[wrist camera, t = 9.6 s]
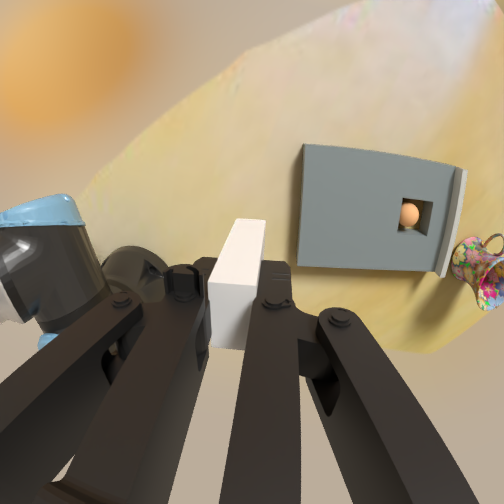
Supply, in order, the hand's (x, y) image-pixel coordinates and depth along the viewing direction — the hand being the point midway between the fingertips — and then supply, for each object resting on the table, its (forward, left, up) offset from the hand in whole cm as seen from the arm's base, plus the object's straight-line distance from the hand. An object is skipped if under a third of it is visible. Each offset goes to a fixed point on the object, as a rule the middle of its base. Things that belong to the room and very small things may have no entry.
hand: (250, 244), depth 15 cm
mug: (+37, -10, -26) cm, 46 cm away
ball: (+20, -4, -26) cm, 33 cm away
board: (+17, -4, -26) cm, 31 cm away
